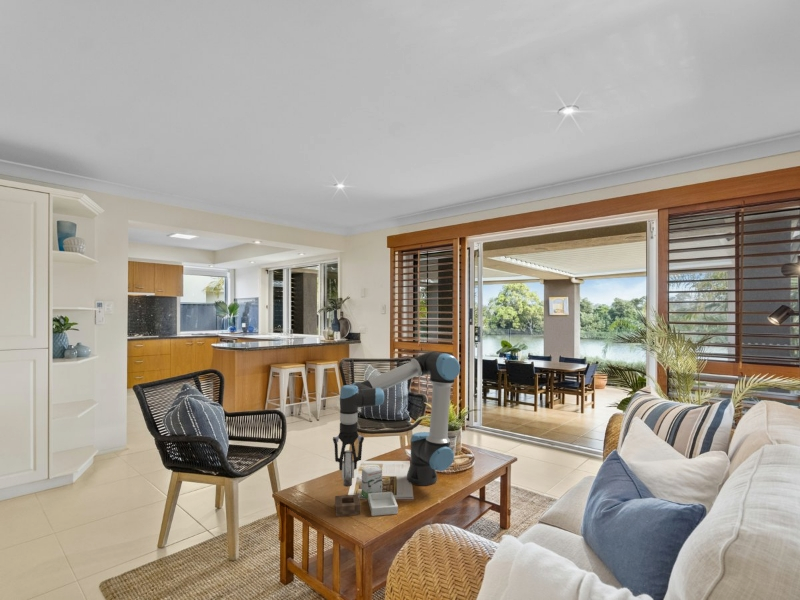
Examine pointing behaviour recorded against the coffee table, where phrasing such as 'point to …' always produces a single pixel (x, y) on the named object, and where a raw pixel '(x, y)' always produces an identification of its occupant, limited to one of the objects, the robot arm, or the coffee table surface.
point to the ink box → (371, 480)
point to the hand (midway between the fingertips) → (347, 477)
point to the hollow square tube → (347, 505)
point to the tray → (382, 503)
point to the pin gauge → (347, 468)
